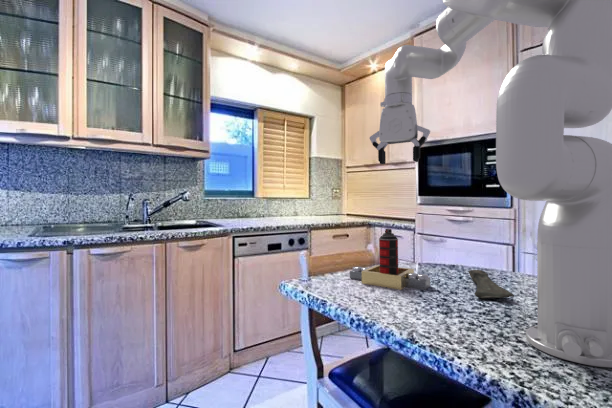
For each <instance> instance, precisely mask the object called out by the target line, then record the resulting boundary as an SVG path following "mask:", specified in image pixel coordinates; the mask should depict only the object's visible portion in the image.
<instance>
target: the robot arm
mask: <svg viewBox="0 0 612 408" xmlns="http://www.w3.org/2000/svg"><path fill="white" fill-rule="evenodd" d="M442 2H443V5H445V7H446V8H445V9H443V11H441V12H440V14H439V15H438V18H436V24H435V25H436V26H435V28H436V29H435V30H436V32H437V35H438V37H439V39H440V40H441V42H442V43H443V44H444V45H442V46H441V47H439V48H433V47H432V48H431V47H427V46H419V45H418V46H417V45H411V44H405V45H402V46H400V47H399V48H398V49H397V50H396V52H395V53H394V55H393V57H392V58H391V59H389V60H388V61H386V62H385V65H384V100H383V101H382V102H380V104H379V105H380V108H382V107H383V108H382V109H381V114H380V119H379V130H378V131H376V132H375V133H373V134H371V135H370V136H369V140H370V142H371V144H372V146H373V147H374V148H375V149H376V150H377V157H378V159H377V160H378V162H379V164H380V165H386V161H387V160H386V159H387V158H386V151H385V148H386V147H387V146H388V145H398V144H404V143H412V145H414V146H413V147H412V161H413V162H415V163H419V160H420V159H421V148H422V146H423V145H424V144H425V143H426V141H427V140H428V138H429V136H430V134H431V130H430V129H428V128H427V127H423V126H421V125H419V124H418V120H417V113H416V108H415V105H414V104H413V78H419V79H424V80H425V79H427V80H434V79H438V78H440V77H442V76H443V75H445V74H447V73H448V72H450V71H451V70H452V69H453V68H455V67H456V66H457V65H458V64H459V63H460V61H461V59H462V57H463V56H464V54H465V51H466V47H467V42H468V41H469V40H471V39H472V38H474V36H475V35H477V34H479V33H480V32H481V31H483V30H484V29H485V28H486V27H488V26H489V25H490V24H492V23H493V22H494V21H497V22H498V21H499V22H504V23H505V22H506V23H509V24H510V23H511V24H515V25H523V26H527V27H531V28H532V27H533V28H547V30H546V33H545V35H544V37H543V41H542V46H541V47H542V48H541V53H542V54H535V55H533V56H529V57H526V58H524V59H522V60H521V61H520V62H518V63H517V64H516V65H514V66H513V68H511V69H510V71H509V72H508V73H507V75H506V76H505V77H504V79H503V81H502V84H501V85H500V88H499V91H498V94H497V99H496V109H495V110H496V113H495V117H496V118H495V119H496V120H495V122H496V123H495V131H496V132H495V134H496V135H495V167H496V168H495V169H496V174H497V179H498V182H499V184H500V186H501V188H502V189H503V190H504V191H505V192H506V193H507V194H508V195H510V196H511V197H513V198H516V199H518V200H521V201H522V200H523V201H531V202H533V201H534V202H540V201H541V202H545V204H544V205H543V209H542V210H541V213H540V217H539V220H538V225H537V233H536V234H537V238H536V239H537V242H536V245H537V246H536V250H537V251H536V253H537V254H536V258H537V259H536V261H537V262H536V264H537V270H536V271H537V275H536V276H537V285H536V287H537V288H536V289H537V292H536V293H537V325H534V326H531V327H528V328H527V329H526V330H525V339H526V341H527V342H528V343H529V344H530V345H532V346H533V347H534V348H536V350H537V349H538V350H539V351H541V352H543V353H546V354H547V355H551V356H553V357H557V358H559V359H562V360H565V361H569V362H573V363H576V364H582V365H585V366H586V365H587V366H592V367H598V368H611V369H612V142H609V141H607V140H604V139H601V138H598V137H592V136H582V135H572V134H571V135H570V134H565V131H564V129H582V128H587V127H591V126H594V125H596V124H598V123H600V122H601V121H603V120H604V119H606V117H608V115H609V114H610V112H611V111H612V0H442ZM419 132H420V133H422V136H421V137H420V138H419V139H418V136H419V135H418V133H419ZM377 139H379V141H380V142H378V141H377Z"/></svg>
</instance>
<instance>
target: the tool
mask: <svg viewBox="0 0 612 408" xmlns="http://www.w3.org/2000/svg"><path fill="white" fill-rule="evenodd" d="M468 274H469V276H470V279H471V280H472V282H473V283H474V284H476V290H475V292H474V295H475V297H477V298H479V299H488V298H489V299H502V298H511V297H512V298H514V297H515V295H514V293H512V292H510V291H509V290H508V289H505V288H503V287H502V286H500V285H498V284H497V283H496V282H494V281H493V280H492V279H491V278H490V277H489V274H488V272H486V271H484V270H482V269H470V270H469V271H468Z"/></svg>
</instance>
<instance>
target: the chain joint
mask: <svg viewBox="0 0 612 408" xmlns="http://www.w3.org/2000/svg"><path fill="white" fill-rule="evenodd" d="M350 278H351V280H358V281H361V284H362V285H369V286H377V287H380V286H381V287H382V288H386V287H387V288H388V289H392V290H393V289H394V290H400V291H401V290H403V289H405V288H407V287H408V289H413V290H414V289H415V290H421V291H427V290H428V289H429V288H430V287H431V277H430V276H429V275H428V274H425V273H415V268H408V267H399V266H398V275H395V274H387V273H380V264H375V265H374V266H371V267H361V266H352V270H350V271H349V279H350Z"/></svg>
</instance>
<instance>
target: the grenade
mask: <svg viewBox="0 0 612 408" xmlns="http://www.w3.org/2000/svg"><path fill="white" fill-rule="evenodd" d="M383 228H384V233H383V232H382V229H383ZM392 230H393V229H392V228H385V226H383V227H381V229H380V233H381V235H380V237H379V240H378V244H379V245H378V249H379V253H378V254H379V265H380V273H387V274H395V275H398V267H399V238H398V237H397V236H396V235H395V234H394V233H392Z"/></svg>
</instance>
